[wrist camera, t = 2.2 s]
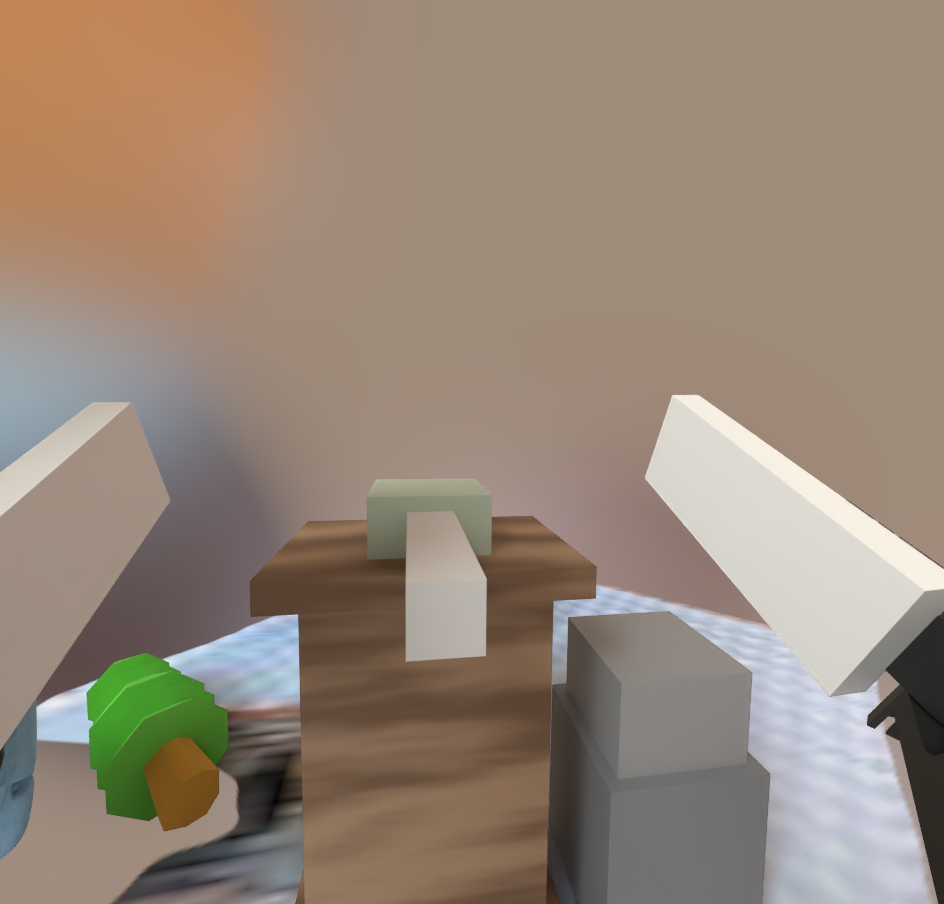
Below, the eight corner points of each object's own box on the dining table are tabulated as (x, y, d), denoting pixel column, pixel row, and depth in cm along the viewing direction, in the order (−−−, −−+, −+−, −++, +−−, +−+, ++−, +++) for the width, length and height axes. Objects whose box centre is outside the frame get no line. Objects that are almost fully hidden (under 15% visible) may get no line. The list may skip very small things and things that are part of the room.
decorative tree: (152, 740, 36) (83, 617, 55) (88, 899, 33) (39, 713, 53) (278, 722, 44) (180, 621, 63) (234, 847, 42) (146, 703, 61)
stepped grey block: (758, 953, 32) (776, 679, 30) (604, 982, 30) (614, 693, 28) (663, 807, 44) (672, 606, 42) (548, 822, 42) (554, 613, 40)
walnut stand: (582, 1006, 29) (596, 566, 26) (264, 1069, 26) (249, 581, 24) (526, 816, 43) (532, 516, 40) (314, 843, 40) (308, 521, 37)
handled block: (549, 651, 17) (551, 550, 16) (335, 666, 16) (334, 558, 15) (473, 525, 36) (473, 478, 36) (376, 528, 35) (376, 479, 35)
